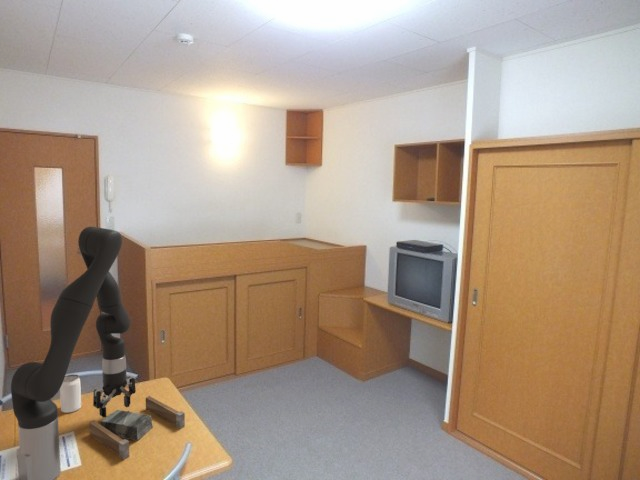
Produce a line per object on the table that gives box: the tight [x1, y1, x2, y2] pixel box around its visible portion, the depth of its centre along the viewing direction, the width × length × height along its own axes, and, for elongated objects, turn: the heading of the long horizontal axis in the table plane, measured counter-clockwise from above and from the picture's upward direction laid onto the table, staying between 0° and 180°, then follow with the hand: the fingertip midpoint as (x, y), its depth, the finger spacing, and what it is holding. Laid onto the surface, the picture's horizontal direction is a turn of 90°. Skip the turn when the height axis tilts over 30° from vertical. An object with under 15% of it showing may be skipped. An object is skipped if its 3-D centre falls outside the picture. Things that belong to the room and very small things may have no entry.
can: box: [59, 373, 82, 414], centre depth 153 cm, size 6×6×12 cm
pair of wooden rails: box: [88, 395, 186, 461], centre depth 142 cm, size 22×20×5 cm
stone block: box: [99, 409, 154, 442], centre depth 142 cm, size 9×14×5 cm, turn 75°
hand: (115, 411), depth 149 cm, fingers open, 8 cm apart
